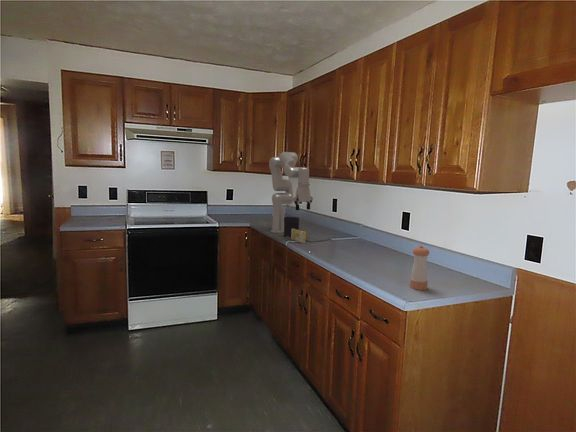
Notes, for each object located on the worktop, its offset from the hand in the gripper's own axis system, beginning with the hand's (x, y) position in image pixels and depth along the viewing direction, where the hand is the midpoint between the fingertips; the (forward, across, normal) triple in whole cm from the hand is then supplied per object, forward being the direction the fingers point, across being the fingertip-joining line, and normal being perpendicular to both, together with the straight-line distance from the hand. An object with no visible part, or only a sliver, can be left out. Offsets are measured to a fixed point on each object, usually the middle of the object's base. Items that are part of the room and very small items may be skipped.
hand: (302, 209), depth 257 cm
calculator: (+23, -4, -19) cm, 30 cm away
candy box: (+23, +2, -2) cm, 23 cm away
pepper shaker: (+24, +16, +106) cm, 110 cm away
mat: (+23, -13, 0) cm, 26 cm away
